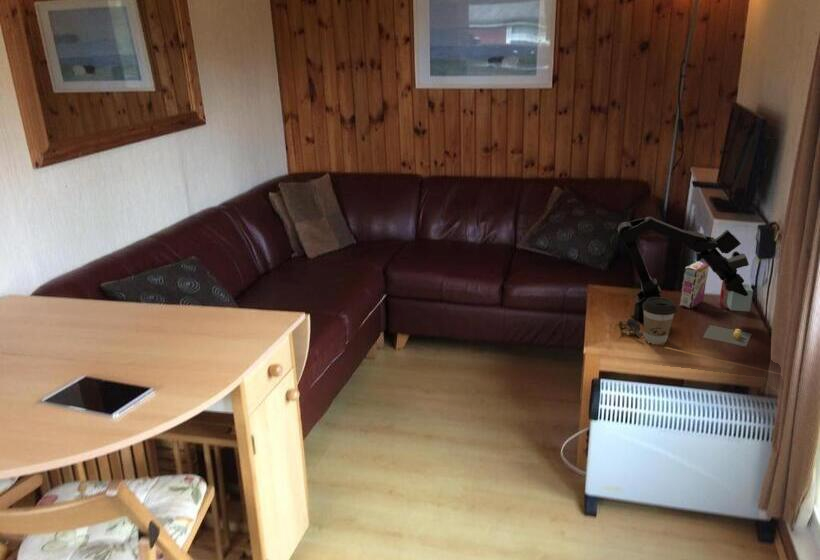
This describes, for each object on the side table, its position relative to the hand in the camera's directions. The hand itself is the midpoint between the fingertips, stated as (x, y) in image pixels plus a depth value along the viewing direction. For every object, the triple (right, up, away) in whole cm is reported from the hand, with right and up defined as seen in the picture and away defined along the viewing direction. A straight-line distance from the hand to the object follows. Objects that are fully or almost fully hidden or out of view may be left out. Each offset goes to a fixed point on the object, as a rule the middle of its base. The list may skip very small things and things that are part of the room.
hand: (744, 291), depth 234 cm
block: (-1, -6, +3) cm, 6 cm away
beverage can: (+4, -6, +21) cm, 23 cm away
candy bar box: (-8, -5, +25) cm, 27 cm away
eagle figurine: (-41, -16, 0) cm, 44 cm away
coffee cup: (-34, -17, -5) cm, 39 cm away
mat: (-8, -16, -4) cm, 18 cm away
